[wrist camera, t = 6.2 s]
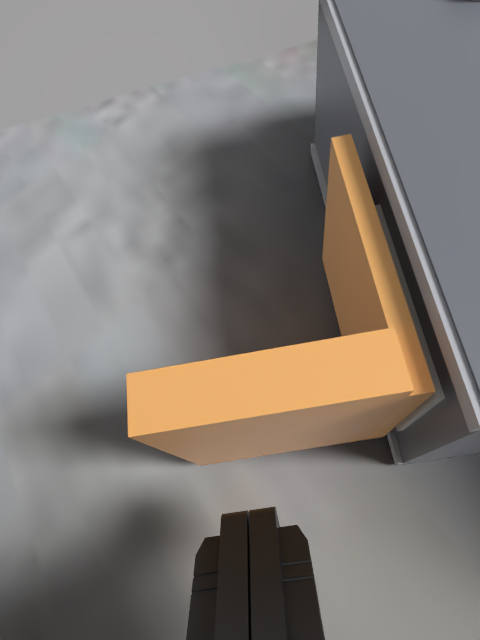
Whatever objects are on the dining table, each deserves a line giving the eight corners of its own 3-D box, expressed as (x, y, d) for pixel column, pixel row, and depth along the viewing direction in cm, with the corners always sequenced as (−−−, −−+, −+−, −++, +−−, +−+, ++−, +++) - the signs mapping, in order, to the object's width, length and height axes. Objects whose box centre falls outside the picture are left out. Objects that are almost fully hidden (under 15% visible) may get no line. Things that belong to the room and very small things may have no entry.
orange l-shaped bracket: (383, 436, 16) (442, 386, 9) (200, 465, 17) (128, 437, 10) (335, 256, 19) (352, 120, 13) (183, 284, 20) (120, 168, 13)
